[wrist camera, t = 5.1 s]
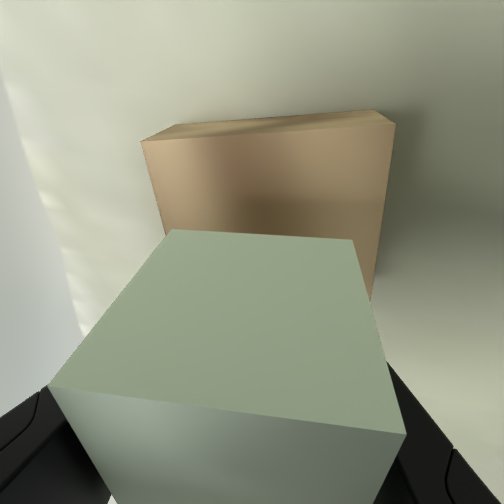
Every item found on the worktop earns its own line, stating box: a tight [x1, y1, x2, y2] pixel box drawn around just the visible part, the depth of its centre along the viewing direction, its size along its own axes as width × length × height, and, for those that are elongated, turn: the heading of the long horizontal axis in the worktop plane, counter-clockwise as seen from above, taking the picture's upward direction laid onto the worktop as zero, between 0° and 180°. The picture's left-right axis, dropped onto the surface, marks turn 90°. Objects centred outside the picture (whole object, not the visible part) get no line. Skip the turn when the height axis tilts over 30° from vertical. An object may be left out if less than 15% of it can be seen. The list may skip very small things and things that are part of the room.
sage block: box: [47, 229, 407, 504], centre depth 8 cm, size 5×5×5 cm
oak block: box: [141, 110, 396, 301], centre depth 15 cm, size 9×9×4 cm
